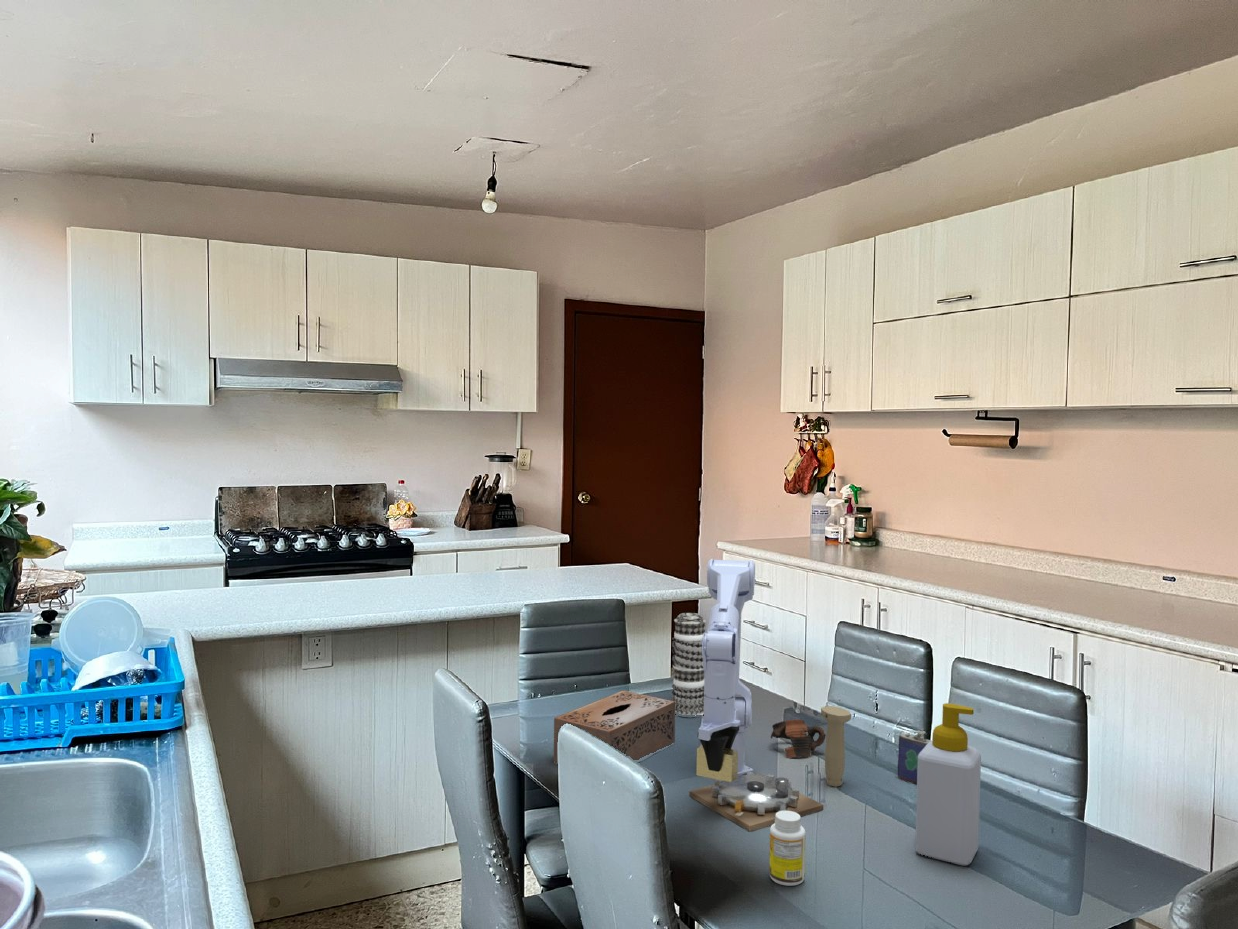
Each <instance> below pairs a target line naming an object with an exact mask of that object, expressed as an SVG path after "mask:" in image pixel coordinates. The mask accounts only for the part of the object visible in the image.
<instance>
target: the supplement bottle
mask: <svg viewBox="0 0 1238 929" xmlns="http://www.w3.org/2000/svg"><path fill="white" fill-rule="evenodd" d="M801 817H802V816H801ZM801 817H800V815H799V814H798V813H796V812H793V811H779V812H777V813H776V815H775V823H774V824H773V825H770V828H769V877H770V878H771V880H772V881H774V883H776V884H779V885H782V886H787V887H790V886H791V887H792V886H798V885H800V884H801V883H803V882H804V881H805V877H806V876H805V875H806V868H805V867H806V829H805V828H804V827H803V826H802V822H801V820H802V819H801Z"/></svg>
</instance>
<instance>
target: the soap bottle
mask: <svg viewBox="0 0 1238 929" xmlns="http://www.w3.org/2000/svg"><path fill="white" fill-rule="evenodd" d="M960 714H962V715H971V716H973V715H974V707H973V708H972V707H970V706H966V705H965V706H964V705H960V704H957V703H950V702H947V703H946V702H945V703H943V704H942V719H941V720H942V722H941V724H938V725H937V726H935V727H934V729H933V732H932V740H931V741H930V742H929V743H928V744H927V745H926V746H925V747H924V748H923V750H922V751H921V752H920V753H919V755H918V770H917V784H916V813H915V815H916V816H915V845H914V846H915V852H916V853H917V854H918V855H920V854H921V856H923V855H925V856H924V857H927V856H928V857H927V858H931V857H932V858H931V859H934V860H939V861H943V862H947V863H950V862H951V863H950V864H955V865H959V866H968V865H970V864H971V863H972V861H973V859H974V858H975V855H976V853H977V851H978V850H979V840H980V839H979V838H980V837H979V836H980V835H979V834H980V807H981V806H980V805H981V801H980V800H981V774H982V773H981V769H982V767H981V765H982V755H981V753H980V751H979V750H978V749H977V748H975V747H974V746H970V745H969V744H968V743H969V741H968V740H969V739H968V738H969V737H968V734H967V731H966V729H964V728H963V727H961V726H960V724H959V722H960V721H959V720H960V719H959V718H960Z"/></svg>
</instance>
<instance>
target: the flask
mask: <svg viewBox="0 0 1238 929" xmlns="http://www.w3.org/2000/svg"><path fill="white" fill-rule="evenodd" d="M925 734H926V731H924V730H916V734H912V733H910V732H907V733H900V734H899V737H898V752H897V753H898V754H897V779H899V780H902V781H904V782H907V783H911V784H915V785H917V770H918V755H919V753H920V752H921V751H922V750H923V748H924V747H925V746H926V745H927V744H928V743H929V742H930V741H932V740H931V739H927V738H926V739H925Z"/></svg>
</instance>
